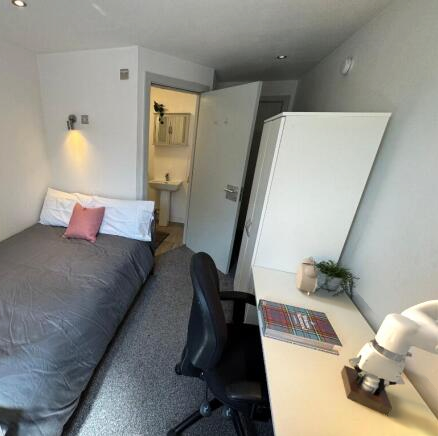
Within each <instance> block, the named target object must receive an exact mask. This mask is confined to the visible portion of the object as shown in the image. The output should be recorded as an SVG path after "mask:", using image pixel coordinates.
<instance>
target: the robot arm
mask: <svg viewBox="0 0 438 436" xmlns="http://www.w3.org/2000/svg"><path fill="white" fill-rule="evenodd" d="M437 321H438V299H433V300H427V301H424V302H421V303H418V304H416V305H413V306H411V307H409V308H406V309H405V310H403V311H402V312H401V313H400V314H399V313H388V314H387V315H386V316H385V318H384V319H383V322H382V323H381V325H380V327H379V329H378V330H377V333H376V335H375V336H374V338H373V339H372V340H373V342H370V341H368V342H366V343H365V344H364V345H363V347H361V349H360V350H359V352H358V354H357V355H356V357H353V358H350V359H349V358H348V364H349V365H350V366H351V367H352V368H353V369H355V370H356V371H357V373H356V374H355V380H356V381H357V384H358V385H361V383H362V381H363V379H364V375H365V374H366V373H370V374H373V375H375V376H378V377H379V379H380V382H379V383H378V384H379V387H378V389H377V392H378V393H381V392H382V391H383V390H384V389H385V390H386V388H389V387H390V386H394V385H395V386H396V385H405V381H404V379H403V377H402V375H403V373H404V370H405V364H406V357H407V358H408V357H409V358H412V357H413V353H412V352H409V351H410V349H411V348H412V347H415V348H417V349H419V350H423V351H425V352H428V353H431V354H433V355H437V356H438V322H437ZM358 364H359V365H358Z"/></svg>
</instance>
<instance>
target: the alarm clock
mask: <svg viewBox="0 0 438 436" xmlns="http://www.w3.org/2000/svg"><path fill="white" fill-rule="evenodd" d="M320 275H321V271H320V268H318V267H317V261H315V260H314V256H312V255H311V256H309V257H308V258H305V259H303V260H302V261H301V263H298V267H297V270H296V278H295V279H296V280H295V282H296V288H297V290H299V291H303V292H307V296H310V293H314V292H315V291H316V289H317V285H318V278H319V276H320Z"/></svg>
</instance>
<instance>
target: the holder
mask: <svg viewBox="0 0 438 436" xmlns="http://www.w3.org/2000/svg"><path fill="white" fill-rule="evenodd" d="M356 373H357V371H356V370H355V369H354V367H350V366H348V365H345V364H344V365H343V367H342V369H341V371H340V374H341V378H342V379H341V380H342V383H343V387H344V391H345V396H346V399H348V400H351V401H353V402H355V403H357V404H359V405H362V406H364V407H366V408H368V409H370V410H373V411H375V412H377V411H378V412H377V413H379V412H380V413H379V414H382V413H383V414H382V415H384V414H385V415H384V416H386V415H387V417H388V416H389V415H390V414H391V412H392V411H393V406H392V403H391V401H390V398H389V395H388V393H387V390H386V388H385V389H384V390H383V391H382V392H381V393H378V392H377V390H376V392H375V394H374V395H373V394H371V393H368V392H366V391H363V390H361V389H359V388H358V386H357V381H356V380H355V374H356Z"/></svg>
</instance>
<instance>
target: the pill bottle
mask: <svg viewBox="0 0 438 436" xmlns="http://www.w3.org/2000/svg"><path fill="white" fill-rule="evenodd" d="M379 378H380V377H378V376H375V375H373V374H370V373H366V374H365V375H364V379H363V381H362V383H361V385H358V384H357V386H358V388H359V389H361V390H363V391H366V392H368V393H371V394H373V395H374V394H375V392H376V390H377V389H378V387H379V384H378V383H379V382H380V379H379Z"/></svg>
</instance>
